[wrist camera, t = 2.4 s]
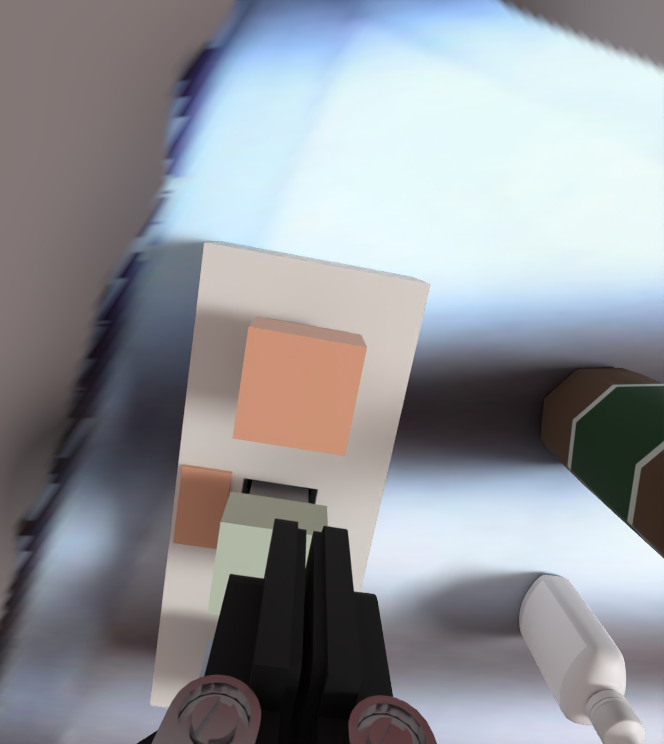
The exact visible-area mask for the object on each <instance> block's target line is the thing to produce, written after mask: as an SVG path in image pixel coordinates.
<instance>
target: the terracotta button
mask: <svg viewBox="0 0 664 744" xmlns="http://www.w3.org/2000/svg"><path fill="white" fill-rule="evenodd" d="M366 350H367V346H366V344H365V342H364V340H363V338H362V335H360V334H354V333H348V332H343V331H337V330H331V329H326V328H320V327H314V326H309V325H303V324H297V323H291V322H286V321H280V320H274V319H269V318H263V317H257V316H256V317H255V319H254V320H253V321H252V323H251V324H250V325H249V327H248V334H247V341H246V348H245V355H244V362H243V369H242V376H241V382H240V389H239V396H238V403H237V410H236V417H235V424H234V431H233V439H239V440H246V441H252V442H258V443H265V444H271V445H277V446H284V447H290V448H297V449H303V450H309V451H316V452H322V453H328V454H335V455H341V456H345V453H346V449H347V444H348V439H349V434H350V429H351V424H352V419H353V414H354V409H355V404H356V399H357V394H358V390H359V385H360V380H361V375H362V370H363V365H364V360H365V355H366Z"/></svg>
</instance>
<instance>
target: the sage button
mask: <svg viewBox="0 0 664 744" xmlns="http://www.w3.org/2000/svg"><path fill="white" fill-rule="evenodd" d="M308 493H309V488H306V487H299V486H293V485H286V484H279V483H273V482H266V481H259V480H253V481H252V485H251V489H250V493H249V494H244V493H237V492H230V495H229V498H228V501H227V504H226V507H225V510H224V513H223V516H222V519H221V522H220V529H219V536H218V543H217V550H216V557H215V564H214V571H213V578H212V585H211V592H210V599H209V606H208V613H207V614H213V615H220V611H221V607H222V603H223V599H224V595H225V591H226V587H227V582H228V579H229V575H230V574H236V575H243V576H250V577H257V578H264V574H265V569H266V563H267V558H268V552H269V547H270V541H271V536H272V530H273V525H274V520H275V518H277V519H284V520H290V521H297V522H298V528H299V529H306V530H307V536H306V563H307V558H308V554H309V549H310V544H311V539H312V535H313V531H319V532H322V529H323V526H328V516H327V506H324V505H317V504H311V503H308ZM305 568H306V566H305Z"/></svg>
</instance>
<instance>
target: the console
mask: <svg viewBox="0 0 664 744" xmlns="http://www.w3.org/2000/svg"><path fill="white" fill-rule="evenodd" d="M429 288H430V284H429V283H426V282H424V281H421V280H419V279H417V278H414V277H410V276H405V275H399V274H394V273H388V272H383V271H378V270H372V269H367V268H361V267H356V266H351V265H345V264H340V263H334V262H329V261H324V260H318V259H313V258H307V257H302V256H297V255H291V254H286V253H280V252H275V251H270V250H264V249H259V248H253V247H248V246H243V245H237V244H232V243H226V242H204V248H203V256H202V265H201V273H200V282H199V291H198V299H197V308H196V316H195V325H194V333H193V342H192V351H191V359H190V368H189V376H188V385H187V393H186V402H185V411H184V419H183V428H182V436H181V445H180V454H179V462H178V471H177V479H176V488H175V496H174V505H173V514H172V522H171V531H170V539H169V548H168V556H167V565H166V574H165V582H164V591H163V599H162V608H161V616H160V625H159V634H158V642H157V651H156V659H155V668H154V677H153V685H152V694H151V702H150V705H151V706H160V707H169V706H170V704H171V702H172V701H173V699H174V698H175V696H176V695H177V693H178V692H179V691H180V690H181V689H182V688H183V687H184V686H186V685H187V684H188V683H189V682H191V681H193V680H196V679H198V678H199V675H200V672H201V668H202V664H203V660H204V657H205V653H206V649H207V645H208V641H209V639H212V640H213V639H214V635H215V631H216V627H217V623H218V619H219V615H213V614H207V613H208V606H209V599H210V592H211V585H212V578H213V571H214V564H215V557H216V550H217V543H218V536H219V529H220V522H221V519H222V516H223V513H224V510H225V507H226V504H227V501H228V498H229V495H230V492H237V493H244V494H246V491H247V485H248V479H253V480H259V481H266V482H273V483H279V484H286V485H293V486H299V487H306V488H311V494H310V499H309V503H311V504H317V505H324V506H327V516H328V526H330V527H336V528H343V529H347V530H348V537H349V546H350V556H351V566H352V576H353V586H354V591H355V592H360V591H361V586H362V582H363V578H364V573H365V569H366V564H367V560H368V556H369V551H370V547H371V542H372V538H373V534H374V529H375V525H376V521H377V516H378V512H379V507H380V503H381V499H382V494H383V490H384V485H385V481H386V477H387V472H388V468H389V463H390V459H391V455H392V450H393V446H394V441H395V437H396V433H397V428H398V424H399V420H400V415H401V411H402V406H403V402H404V398H405V393H406V389H407V384H408V380H409V376H410V371H411V367H412V362H413V358H414V354H415V349H416V345H417V340H418V336H419V332H420V327H421V323H422V319H423V314H424V310H425V305H426V301H427V297H428V292H429ZM256 316H257V317H263V318H269V319H276V320H282V321H288V322H293V323H299V324H305V325H311V326H316V327H322V328H328V329H333V330H339V331H343V332H348V333H354V334H360V335H362V338H363V340H364V342H365V344H366V346H367V350H366V355H365V360H364V365H363V370H362V375H361V380H360V385H359V390H358V394H357V399H356V404H355V409H354V414H353V419H352V424H351V429H350V434H349V439H348V444H347V449H346V453H345V456H341V455H335V454H328V453H322V452H316V451H309V450H303V449H297V448H290V447H284V446H277V445H271V444H265V443H258V442H252V441H246V440H239V439H233V431H234V424H235V417H236V410H237V403H238V396H239V389H240V382H241V376H242V369H243V362H244V355H245V348H246V341H247V334H248V327H249V325H250V324H251V323H252V321H253V320H254V319H255V317H256Z"/></svg>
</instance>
